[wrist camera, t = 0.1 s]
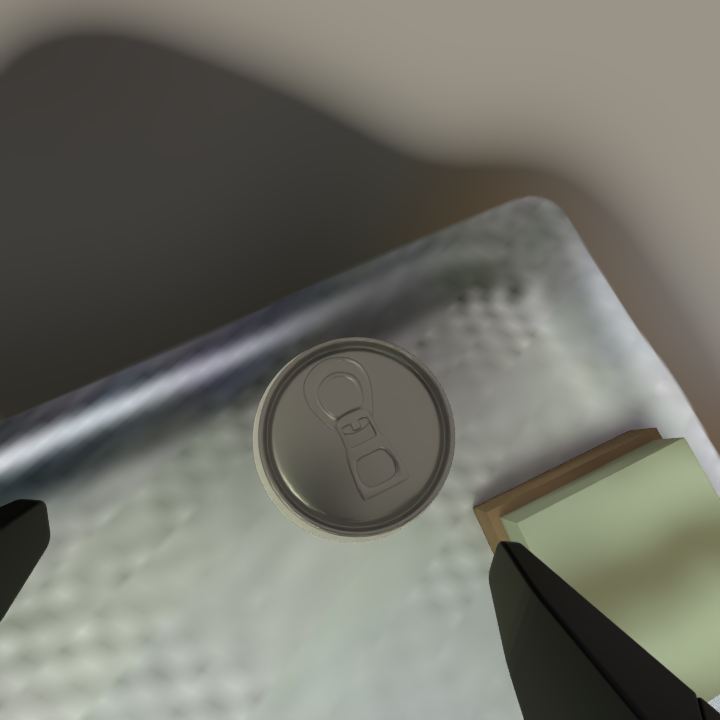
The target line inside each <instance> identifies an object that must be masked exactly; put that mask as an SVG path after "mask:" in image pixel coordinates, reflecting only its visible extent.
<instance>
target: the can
mask: <svg viewBox="0 0 720 720" xmlns="http://www.w3.org/2000/svg"><path fill="white" fill-rule="evenodd" d="M454 447H455V428H454V420H453V415H452V411H451V408H450V405H449V402H448V399H447V397H446V395H445V393H444V391H443V389H442V387H441V385H440V384H439V382H438V381H437V379H436V378H435V376H434V375H433V374H432V373H431V371H430V370H429V369H428V368H427V367H426V366H425V365H424V364H423V363H422V362H421V361H420V360H418V359H417V358H416V357H415V356H413V355H412V354H410V353H409V352H407V351H406V350H404V349H402V348H400V347H398V346H396V345H394V344H391V343H388V342H385V341H382V340H378V339H373V338H366V337H346V338H339V339H334V340H330V341H327V342H324V343H321V344H319V345H316V346H314V347H312V348H310V349H308V350H307V351H305V352H303V353H301V354H300V355H298V356H297V357H295V358H294V359H292V360H291V361H290V362H289V363H288V364H286V365H285V366H284V367H283V368H282V369H281V370H280V371H279V372H278V374H277V375H276V376H275V377H274V379H273V380H272V381H271V383H270V384H269V386H268V387H267V389H266V391H265V393H264V395H263V397H262V399H261V401H260V404H259V406H258V410H257V413H256V417H255V421H254V428H253V453H254V460H255V464H256V468H257V472H258V475H259V477H260V480H261V482H262V484H263V487H264V488H265V490H266V492H267V494H268V495H269V497H270V498H271V500H272V501H273V503H274V504H275V505H276V506H277V508H278V509H279V510H280V511H281V512H282V513H283V514H284V515H285V516H286V517H287V518H288V519H290V520H291V521H292V522H293V523H295V524H296V525H298V526H299V527H301V528H302V529H304V530H306V531H308V532H310V533H312V534H314V535H317V536H319V537H322V538H326V539H330V540H334V541H340V542H364V541H371V540H375V539H379V538H383V537H386V536H388V535H391V534H393V533H395V532H397V531H399V530H401V529H403V528H404V527H406V526H407V525H409V524H410V523H412V522H413V521H414V520H415V519H417V518H418V517H419V516H420V515H421V514H422V513H423V512H424V511H425V510H426V509H427V508H428V506H429V505H430V504H431V503H432V501H433V500H434V499H435V497H436V496H437V495H438V493H439V491H440V490H441V488H442V486H443V484H444V483H445V480H446V478H447V476H448V473H449V471H450V467H451V464H452V460H453V455H454Z"/></svg>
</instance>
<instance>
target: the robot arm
mask: <svg viewBox="0 0 720 720" xmlns="http://www.w3.org/2000/svg"><path fill="white" fill-rule="evenodd" d="M49 540H50V528H49V520H48V513H47V507H46V504H45V503H44V502H43V501H41V500H32V499H18V500H15V501H13V502H11V503H8V504H6V505H3V506H1V507H0V622H1V620H2V619H3V617H4V616H5V614H6V613H7V611H8V609H9V608H10V606H11V605H12V603H13V601H14V600H15V598H16V597H17V595H18V593H19V592H20V590H21V589H22V587H23V585H24V584H25V582H26V580H27V579H28V577H29V576H30V574H31V572H32V571H33V569H34V568H35V566H36V564H37V563H38V561H39V560H40V558H41V556H42V555H43V553H44V552H45V550H46V548H47V546H48V544H49ZM489 584H490V589H491V593H492V598H493V603H494V607H495V612H496V617H497V622H498V626H499V631H500V636H501V640H502V645H503V650H504V654H505V658H506V662H507V666H508V669H509V673H510V676H511V680H512V683H513V686H514V689H515V692H516V696H517V699H518V702H519V705H520V708H521V711H522V715H523V718H524V720H720V713H719V712H718V711H716V710H715V709H714V708H713V707H712V706H711V705H709V704H708V703H707V702H706V701H705V700H704V699H702V698H701V697H698V698H697V695H696V693H695V692H694V691H693V690H692V689H691V688H689V687H688V686H687V685H686V684H685V683H684V682H682V681H681V680H680V679H679V678H678V677H677V676H675V675H674V674H673V673H672V672H671V671H670V670H668V669H667V668H666V667H665V666H664V665H663V664H661V663H660V662H659V661H658V660H657V659H656V658H654V657H653V656H652V655H651V654H650V653H649V652H647V651H646V650H645V649H644V648H643V647H642V646H640V645H639V644H638V643H637V642H636V641H634V640H633V639H632V638H631V637H630V636H629V635H627V634H626V633H625V632H624V631H623V630H622V629H620V628H619V627H618V626H617V625H616V624H615V623H613V622H612V621H611V620H610V619H609V618H608V617H606V616H605V615H604V614H603V613H602V612H601V611H599V610H598V609H597V608H596V607H595V606H594V605H592V604H591V603H590V602H589V601H588V600H587V599H585V598H584V597H583V596H582V595H581V594H580V593H578V592H577V591H576V590H575V589H574V588H573V587H571V586H570V585H569V584H568V583H567V582H566V581H564V580H563V579H562V578H561V577H560V576H559V575H557V574H556V573H555V572H554V571H553V570H552V569H550V568H549V567H548V566H547V565H546V564H545V563H543V562H542V561H541V560H540V559H539V558H538V557H536V556H535V555H534V554H533V553H532V552H531V551H529V550H528V549H527V548H526V547H525V546H524V545H522V544H521V543H519V542H513V541H500V542H499V543H498V544H497V547H496V550H495V553H494V557H493V560H492V564H491V567H490V571H489Z"/></svg>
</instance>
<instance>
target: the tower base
mask: <svg viewBox="0 0 720 720" xmlns="http://www.w3.org/2000/svg"><path fill="white" fill-rule="evenodd" d="M473 510H474V512H475V514H476V517H477V519H478V521H479V523H480V525H481V527H482V530H483V532H484V534H485V536H486V538H487V540H488V543H489V545H490V547H491V549H492V551H493V553H495V550H496V547H497V544H498V543H499V542H500V541H513V542H519V543H521V544H522V545H524V546H525V547H526V548H527V549H528V550H529V551H531V552H532V553H533V554H534V555H535V556H536V557H538V558H539V559H540V560H541V561H542V562H543V563H545V564H546V565H547V566H548V567H549V568H550V569H552V570H553V571H554V572H555V573H556V574H557V575H559V576H560V577H561V578H562V579H563V580H564V581H566V582H567V583H568V584H569V585H570V586H571V587H573V588H574V589H575V590H576V591H577V592H578V593H580V594H581V595H582V596H583V597H584V598H585V599H587V600H588V601H589V602H590V603H591V604H592V605H594V606H595V607H596V608H597V609H598V610H599V611H601V612H602V613H603V614H604V615H605V616H606V617H608V618H609V619H610V620H611V621H612V622H613V623H615V624H616V625H617V626H618V627H619V628H620V629H622V630H623V631H624V632H625V633H626V634H627V635H629V636H630V637H631V638H632V639H633V640H634V641H636V642H637V643H638V644H639V645H640V646H642V647H643V648H644V649H645V650H646V651H647V652H649V653H650V654H651V655H652V656H653V657H654V658H656V659H657V660H658V661H659V662H660V663H661V664H663V665H664V666H665V667H666V668H667V669H668V670H670V671H671V672H672V673H673V674H674V675H675V676H677V677H678V678H679V679H680V680H681V681H682V682H684V683H685V684H686V685H687V686H688V687H689V688H691V689H692V690H693V691H694V692H695V693H696V695H697V698H698V697H701V698H702V699H704V700H705V701H706V702H708V701H710V700H711V699H713V698H714V697H716V696H717V695H719V694H720V498H719V497H718V495H717V493H716V491H715V490H714V488H713V486H712V484H711V483H710V481H709V479H708V477H707V476H706V474H705V472H704V471H703V469H702V467H701V465H700V464H699V462H698V460H697V458H696V457H695V455H694V453H693V452H692V450H691V448H690V446H689V445H688V443H687V441H686V439H685V438H670V439H662V437H661V435H660V434H659V432H658V430H657V428H648V429H639V430H630V431H628V432H626V433H624V434H622V435H620V436H618V437H616V438H614V439H612V440H610V441H608V442H606V443H604V444H602V445H600V446H598V447H596V448H594V449H592V450H590V451H588V452H586V453H584V454H581V455H579V456H577V457H575V458H573V459H571V460H569V461H567V462H565V463H563V464H561V465H559V466H557V467H555V468H553V469H551V470H549V471H547V472H545V473H543V474H541V475H539V476H537V477H535V478H533V479H531V480H529V481H527V482H525V483H523V484H521V485H519V486H517V487H515V488H513V489H511V490H509V491H507V492H505V493H503V494H501V495H499V496H496V497H494V498H492V499H490V500H488V501H486V502H484V503H482V504H480V505H478V506H476V507H474V508H473Z"/></svg>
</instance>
